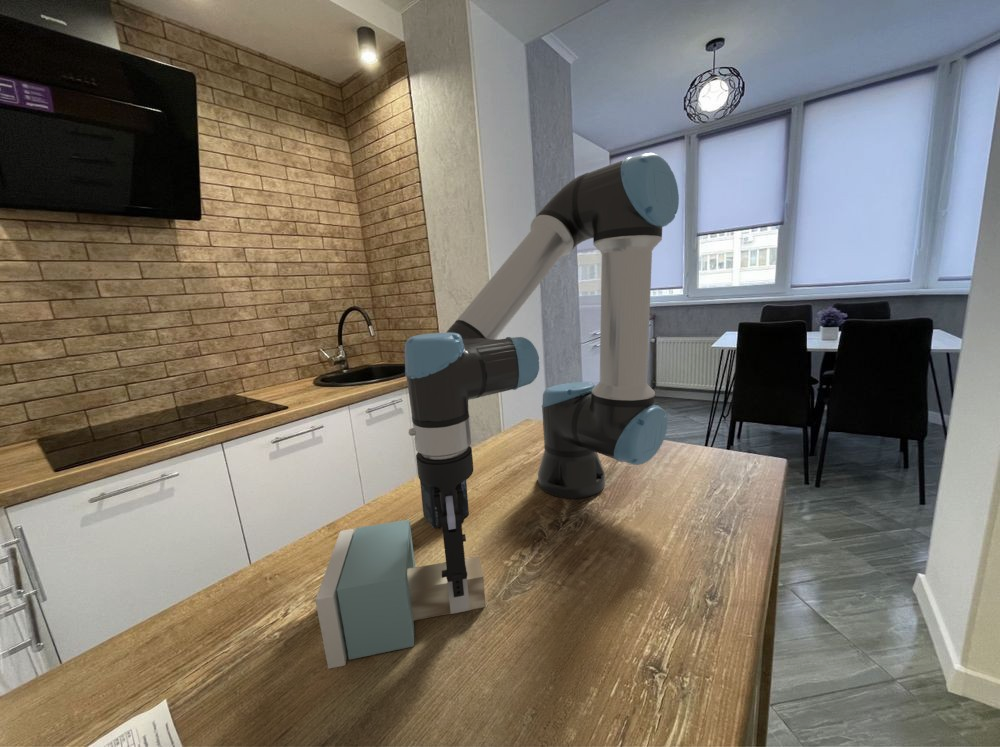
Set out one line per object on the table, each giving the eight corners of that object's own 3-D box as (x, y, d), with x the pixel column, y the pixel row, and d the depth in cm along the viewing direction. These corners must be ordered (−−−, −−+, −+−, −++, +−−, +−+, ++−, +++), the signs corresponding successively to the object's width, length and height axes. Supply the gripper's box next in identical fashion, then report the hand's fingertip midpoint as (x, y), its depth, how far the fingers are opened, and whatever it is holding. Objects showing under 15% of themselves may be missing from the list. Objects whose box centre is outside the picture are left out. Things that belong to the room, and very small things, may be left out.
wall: (362, 584, 62) (354, 528, 60) (345, 665, 49) (333, 596, 47) (349, 587, 62) (340, 530, 60) (328, 669, 48) (315, 599, 46)
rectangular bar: (481, 584, 61) (479, 556, 59) (485, 606, 56) (483, 576, 55) (374, 604, 58) (370, 574, 57) (370, 628, 54) (365, 597, 53)
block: (416, 576, 63) (409, 519, 61) (413, 646, 50) (404, 577, 48) (364, 585, 62) (355, 527, 60) (349, 659, 49) (336, 589, 47)
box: (434, 530, 75) (429, 479, 73) (423, 517, 80) (417, 469, 78) (470, 515, 80) (465, 467, 77) (457, 503, 84) (453, 458, 82)
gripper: (417, 430, 61) (432, 562, 65) (413, 482, 44) (434, 654, 49) (465, 424, 62) (476, 554, 67) (479, 472, 45) (493, 641, 50)
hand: (458, 596), depth 58 cm, fingers closed on rectangular bar, 4 cm apart
